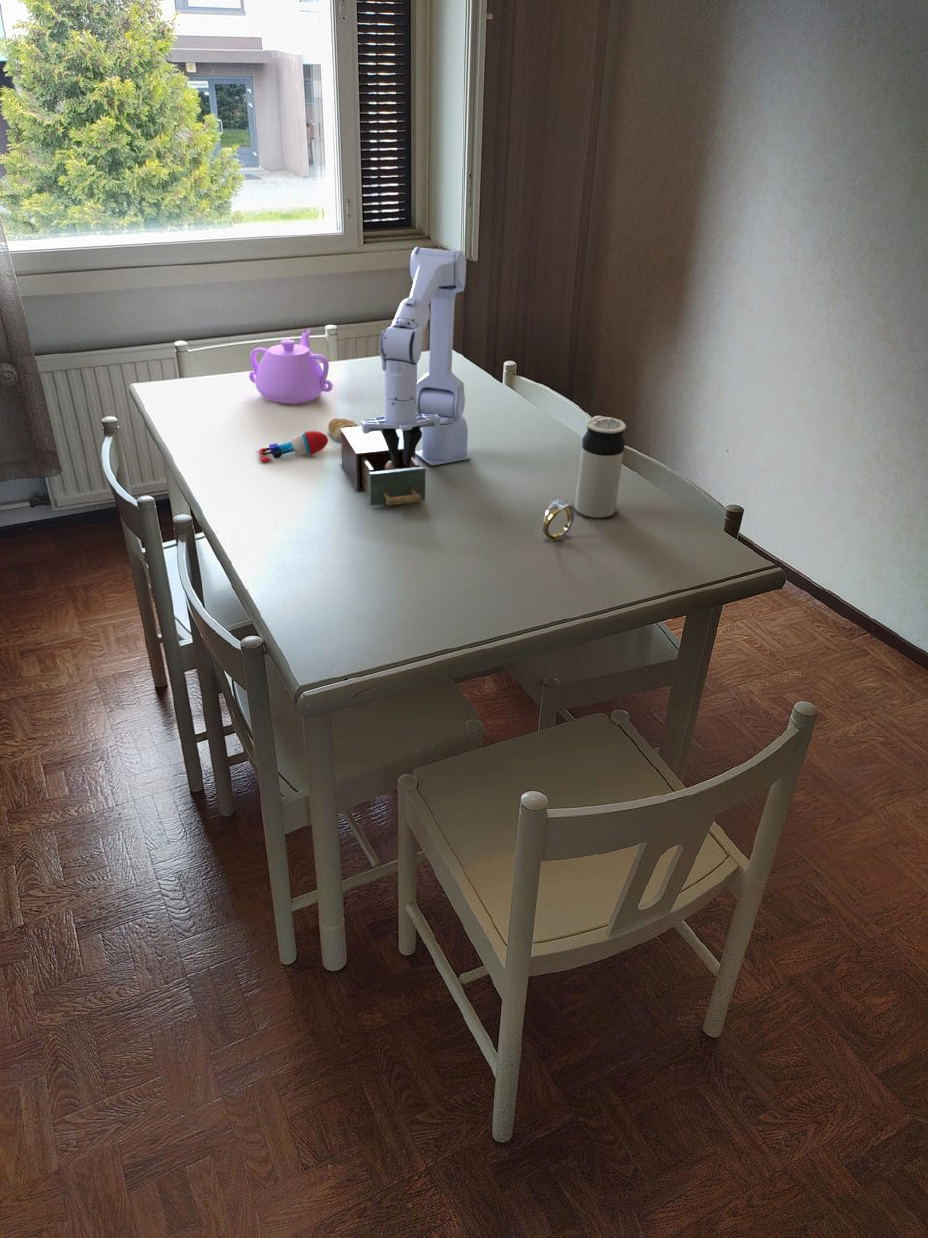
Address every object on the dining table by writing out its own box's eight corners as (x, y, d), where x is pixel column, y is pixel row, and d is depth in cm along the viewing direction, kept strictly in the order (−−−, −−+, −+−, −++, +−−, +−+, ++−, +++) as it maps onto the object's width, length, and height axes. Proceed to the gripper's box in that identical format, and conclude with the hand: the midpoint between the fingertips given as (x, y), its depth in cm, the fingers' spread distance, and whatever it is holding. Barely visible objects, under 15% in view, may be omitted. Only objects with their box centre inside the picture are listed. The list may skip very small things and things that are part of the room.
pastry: (321, 429, 210) (321, 413, 208) (349, 425, 213) (348, 409, 211) (336, 443, 203) (336, 427, 201) (364, 439, 206) (364, 423, 204)
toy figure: (264, 471, 193) (332, 454, 195) (258, 449, 190) (327, 432, 193) (260, 459, 199) (327, 443, 202) (254, 438, 197) (322, 422, 199)
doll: (396, 482, 183) (396, 456, 180) (404, 489, 180) (405, 463, 177) (378, 485, 181) (377, 459, 178) (386, 493, 178) (386, 466, 175)
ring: (546, 547, 166) (550, 507, 162) (536, 539, 168) (539, 500, 164) (576, 538, 170) (581, 499, 165) (565, 531, 172) (569, 492, 167)
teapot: (350, 384, 237) (348, 331, 229) (320, 412, 219) (317, 355, 211) (271, 375, 241) (267, 322, 233) (236, 401, 223) (230, 345, 215)
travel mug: (622, 511, 180) (635, 424, 170) (597, 522, 175) (609, 434, 166) (591, 497, 185) (602, 412, 175) (566, 508, 180) (576, 422, 170)
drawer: (431, 509, 176) (432, 478, 172) (376, 516, 172) (376, 484, 169) (406, 473, 189) (406, 443, 186) (355, 479, 186) (354, 448, 182)
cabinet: (415, 485, 186) (415, 447, 182) (357, 491, 183) (356, 453, 178) (396, 459, 197) (396, 423, 193) (341, 464, 194) (340, 428, 189)
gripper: (367, 406, 159) (368, 477, 166) (445, 399, 163) (443, 469, 170) (357, 392, 164) (359, 462, 172) (433, 387, 169) (432, 455, 176)
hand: (400, 465), depth 171 cm, fingers closed
